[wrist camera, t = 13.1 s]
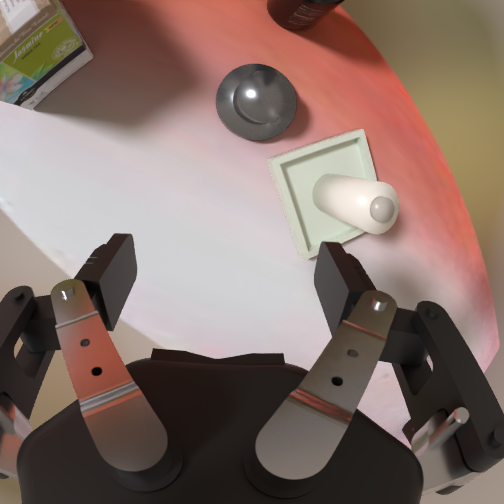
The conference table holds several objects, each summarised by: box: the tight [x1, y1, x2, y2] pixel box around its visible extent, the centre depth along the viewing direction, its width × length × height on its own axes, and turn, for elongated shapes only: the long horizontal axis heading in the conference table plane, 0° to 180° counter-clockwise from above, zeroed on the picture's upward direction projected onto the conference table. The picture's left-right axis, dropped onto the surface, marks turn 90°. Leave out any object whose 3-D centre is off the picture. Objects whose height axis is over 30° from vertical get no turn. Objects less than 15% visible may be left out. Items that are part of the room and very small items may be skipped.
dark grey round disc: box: [216, 64, 297, 140], centre depth 29 cm, size 9×9×4 cm
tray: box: [266, 129, 377, 261], centre depth 35 cm, size 13×13×2 cm
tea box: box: [0, 0, 93, 110], centre depth 15 cm, size 15×10×15 cm
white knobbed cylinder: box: [312, 173, 399, 235], centre depth 30 cm, size 5×5×11 cm
